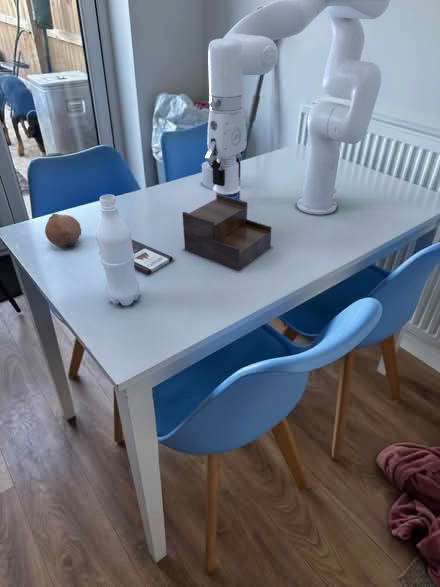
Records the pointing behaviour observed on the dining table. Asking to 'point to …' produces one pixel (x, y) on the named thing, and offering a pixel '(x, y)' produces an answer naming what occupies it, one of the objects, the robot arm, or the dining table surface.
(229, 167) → the downlight
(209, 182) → the lumpy-topped squat cylinder
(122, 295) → the water bottle
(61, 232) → the brown coconut
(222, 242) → the spice shelf
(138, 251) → the chocolate bar
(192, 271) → the dining table surface
